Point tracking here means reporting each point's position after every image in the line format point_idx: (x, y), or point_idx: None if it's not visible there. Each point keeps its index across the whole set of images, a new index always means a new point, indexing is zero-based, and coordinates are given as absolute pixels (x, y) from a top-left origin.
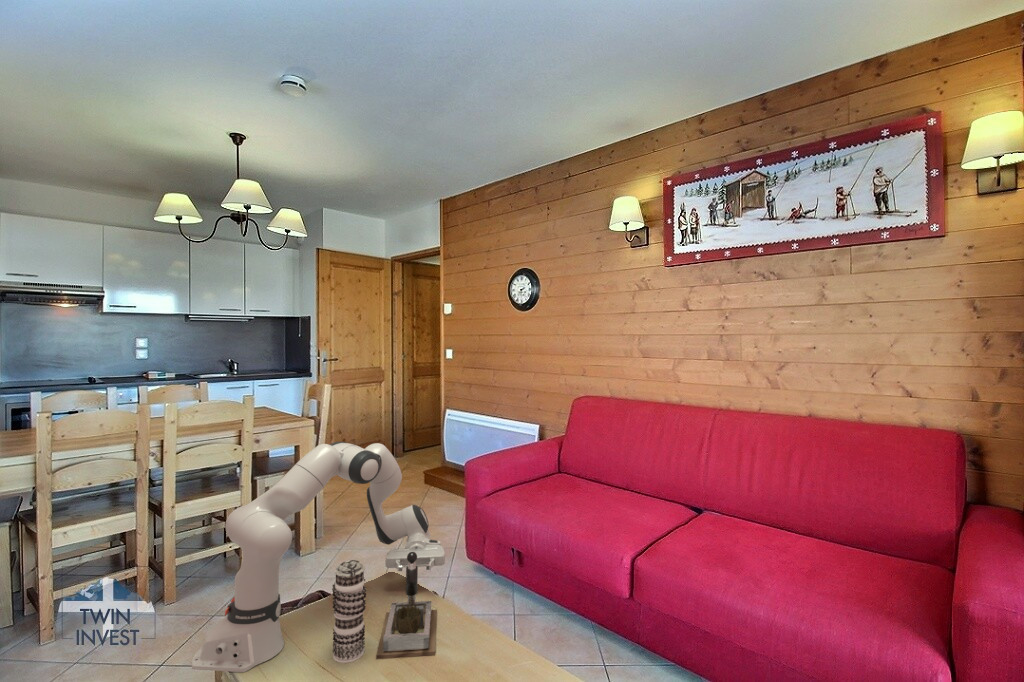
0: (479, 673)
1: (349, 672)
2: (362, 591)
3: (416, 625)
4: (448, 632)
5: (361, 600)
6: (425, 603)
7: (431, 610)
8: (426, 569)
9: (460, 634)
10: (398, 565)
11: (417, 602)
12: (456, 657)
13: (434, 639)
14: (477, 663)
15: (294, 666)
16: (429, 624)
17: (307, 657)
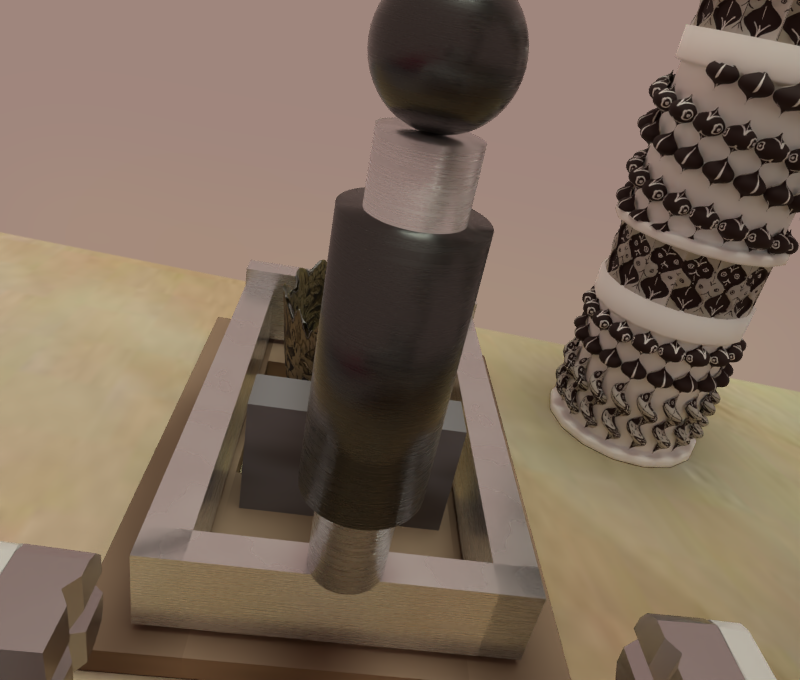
0: (69, 246)
1: (557, 346)
2: (661, 81)
3: (310, 318)
4: (81, 431)
5: (651, 145)
6: (203, 532)
7: (124, 643)
8: (98, 610)
9: (13, 403)
10: (750, 656)
11: (284, 558)
12: (122, 305)
13: (200, 367)
14: (47, 270)
15: (790, 408)
16: (226, 335)
17: (785, 436)
